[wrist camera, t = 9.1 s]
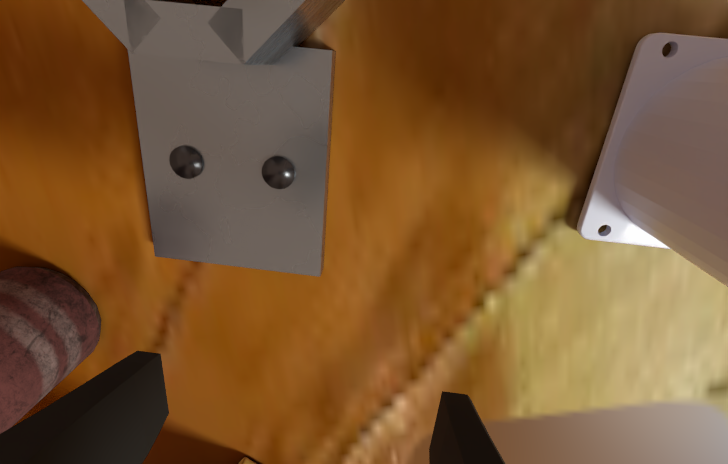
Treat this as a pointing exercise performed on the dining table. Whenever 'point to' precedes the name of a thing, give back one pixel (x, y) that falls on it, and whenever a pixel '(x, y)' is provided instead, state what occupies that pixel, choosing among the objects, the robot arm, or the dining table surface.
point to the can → (40, 336)
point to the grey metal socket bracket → (231, 127)
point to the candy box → (246, 461)
